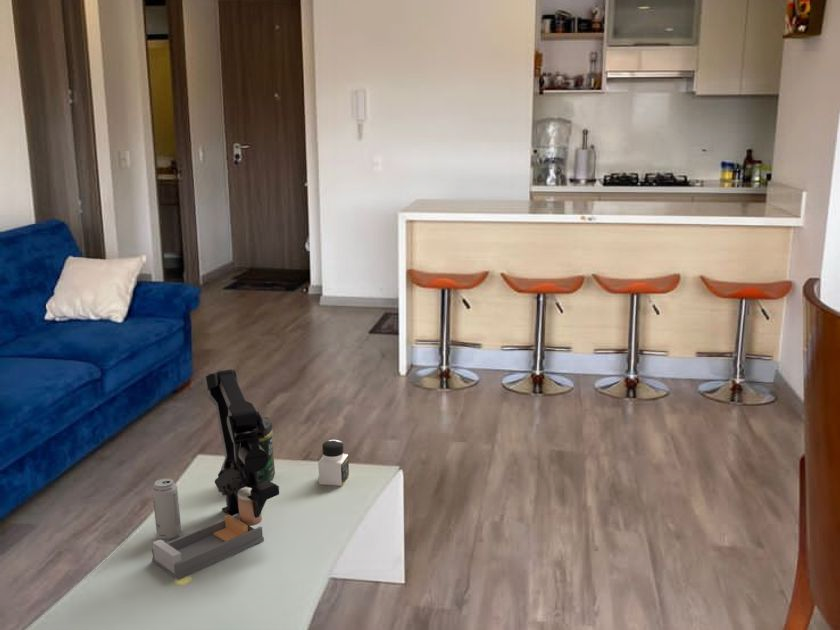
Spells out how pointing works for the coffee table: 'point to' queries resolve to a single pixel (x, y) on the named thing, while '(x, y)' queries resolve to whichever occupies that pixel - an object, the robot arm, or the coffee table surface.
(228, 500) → the robot arm
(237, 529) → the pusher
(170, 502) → the energy drink can
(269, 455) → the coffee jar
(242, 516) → the jar
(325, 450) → the medicine bottle
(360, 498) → the coffee table surface
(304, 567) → the coffee table surface
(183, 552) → the lane
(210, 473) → the coffee table surface
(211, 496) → the coffee table surface
